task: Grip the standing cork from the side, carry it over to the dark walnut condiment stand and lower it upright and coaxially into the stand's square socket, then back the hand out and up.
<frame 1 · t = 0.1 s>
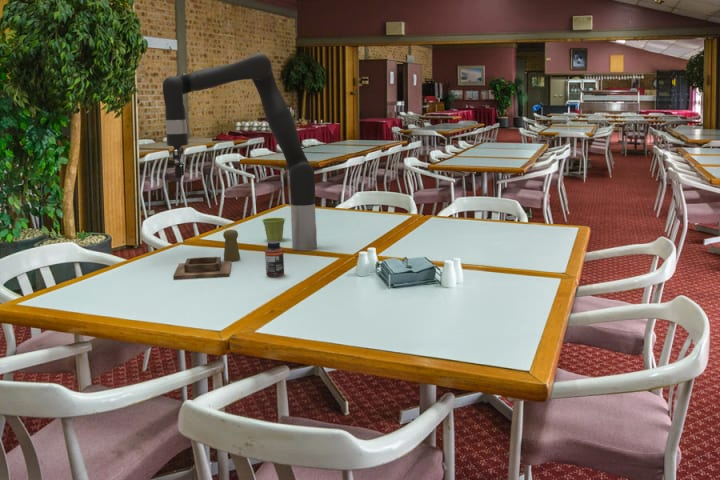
hand: (179, 176, 277), 29 cm above the table, tool pointing down, fingers open, 8 cm apart
plant pot: (274, 241, 304), on the table
condiment stand: (203, 271, 255), on the table
cork: (232, 260, 271), on the table
supplement bottle: (275, 275, 248), on the table
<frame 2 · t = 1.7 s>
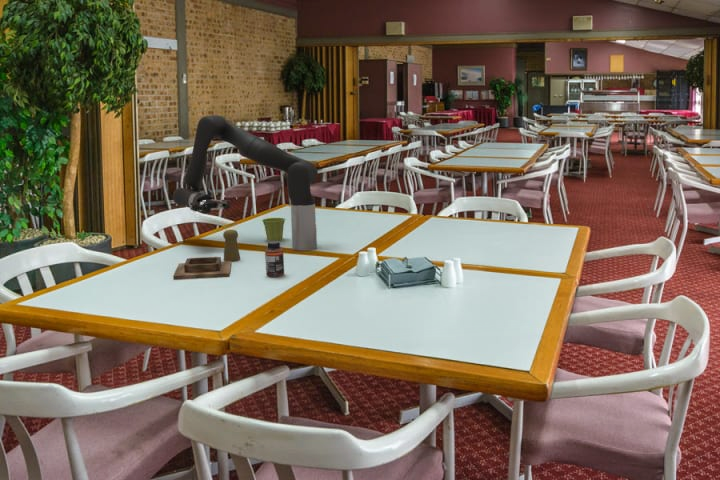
hand: (217, 207, 277), 18 cm above the table, tool horizontal, fingers open, 8 cm apart
nothing on the table moved.
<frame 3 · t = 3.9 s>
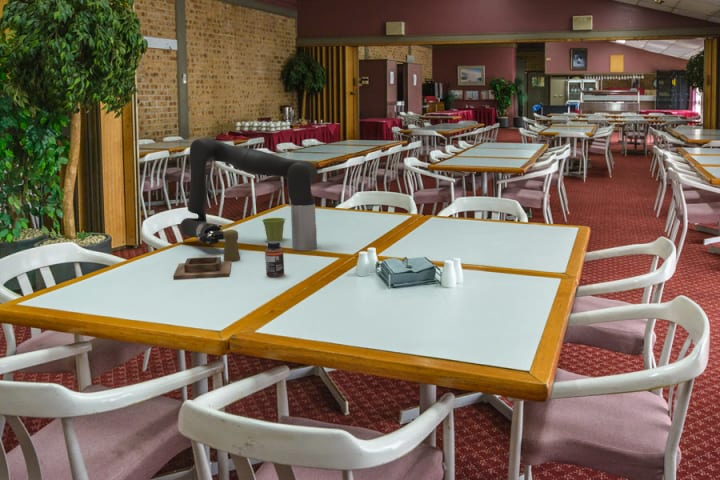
hand: (225, 239, 274), 7 cm above the table, tool horizontal, fingers open, 8 cm apart
nothing on the table moved.
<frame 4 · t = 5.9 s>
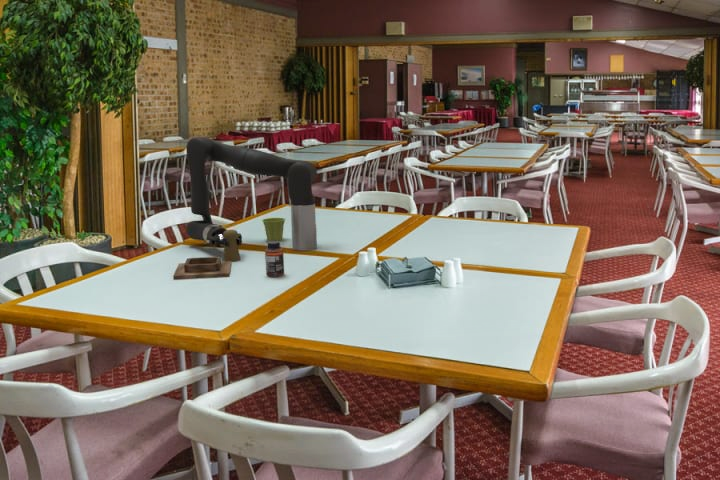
hand: (234, 243, 268), 7 cm above the table, tool horizontal, fingers closed on cork, 4 cm apart
cork: (232, 260, 271), on the table, touching gripper
everything else where it was.
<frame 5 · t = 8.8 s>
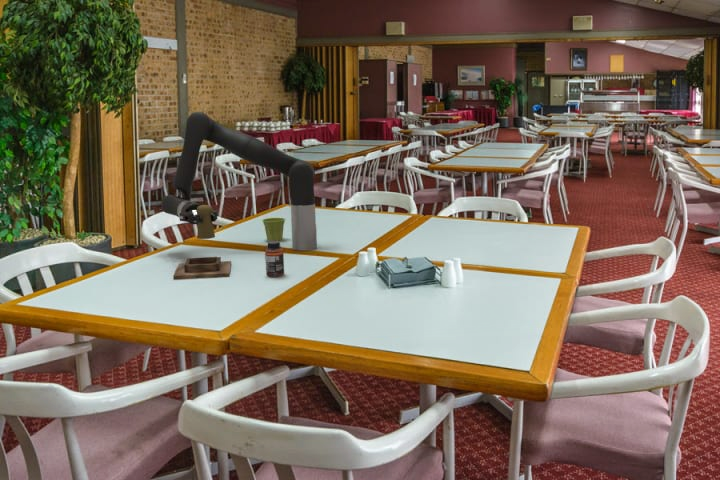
hand: (208, 219, 252), 18 cm above the table, tool horizontal, fingers closed on cork, 4 cm apart
cork: (206, 237, 256), point 11 cm above the table, touching gripper
everything else where it was.
when the fingers open (9 cm above the table, at t = 11.8 s): cork moves 1 cm, resting on condiment stand.
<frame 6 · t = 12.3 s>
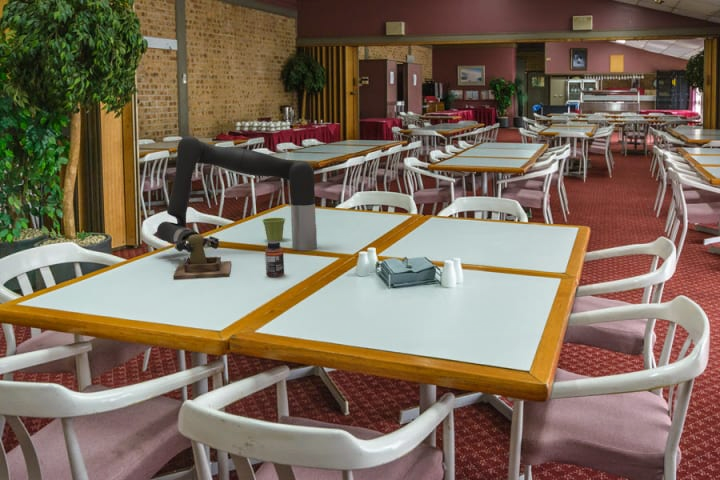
hand: (204, 247, 251), 9 cm above the table, tool horizontal, fingers open, 8 cm apart
cork: (198, 267, 254), point 2 cm above the table, touching condiment stand, gripper
everything else where it was.
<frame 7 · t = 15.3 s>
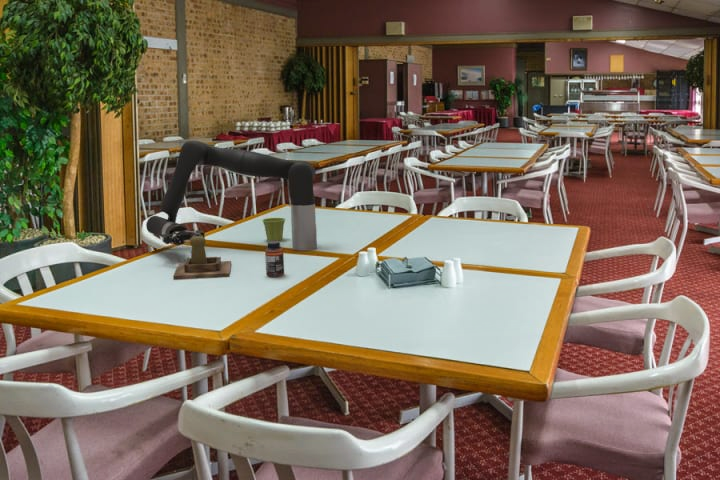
hand: (190, 240, 262), 9 cm above the table, tool horizontal, fingers open, 8 cm apart
cork: (199, 268, 254), point 1 cm above the table, touching condiment stand
everything else where it was.
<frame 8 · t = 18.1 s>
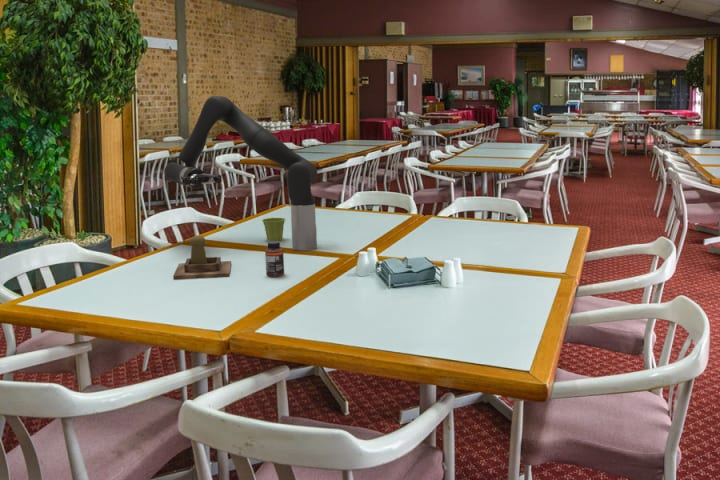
hand: (208, 181, 271), 28 cm above the table, tool horizontal, fingers open, 8 cm apart
nothing on the table moved.
at the end: cork 1.3 cm off-centre on the condiment stand, point 1.0 cm above the condiment stand's base; cork tilted 0°; the gripper is holding nothing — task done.
